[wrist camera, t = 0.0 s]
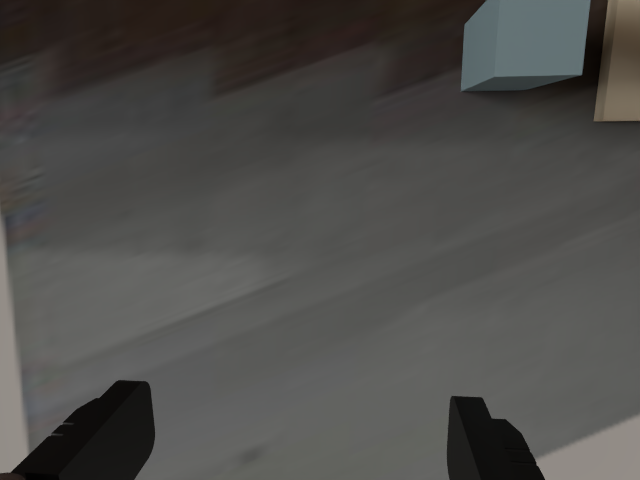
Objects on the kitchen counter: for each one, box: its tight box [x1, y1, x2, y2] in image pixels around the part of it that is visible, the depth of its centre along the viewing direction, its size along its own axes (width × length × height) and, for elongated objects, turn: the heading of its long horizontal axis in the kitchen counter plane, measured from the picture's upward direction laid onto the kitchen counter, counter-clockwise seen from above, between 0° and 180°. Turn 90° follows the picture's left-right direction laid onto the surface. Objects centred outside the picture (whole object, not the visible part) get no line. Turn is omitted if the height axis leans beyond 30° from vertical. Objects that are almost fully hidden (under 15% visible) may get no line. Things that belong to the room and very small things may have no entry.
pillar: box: [461, 0, 590, 91], centre depth 32 cm, size 5×5×10 cm
